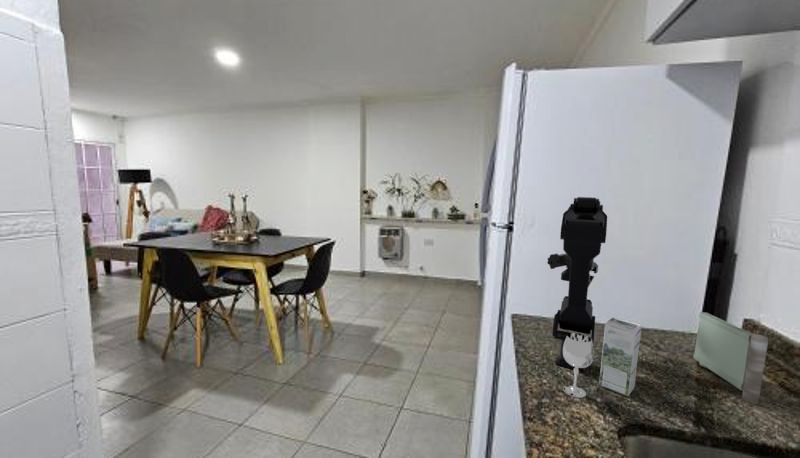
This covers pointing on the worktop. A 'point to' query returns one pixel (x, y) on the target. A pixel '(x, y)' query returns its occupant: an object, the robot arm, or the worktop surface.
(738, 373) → the pale green flat block
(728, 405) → the worktop surface
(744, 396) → the frame
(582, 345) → the wineglass
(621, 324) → the syrup box
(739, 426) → the worktop surface
